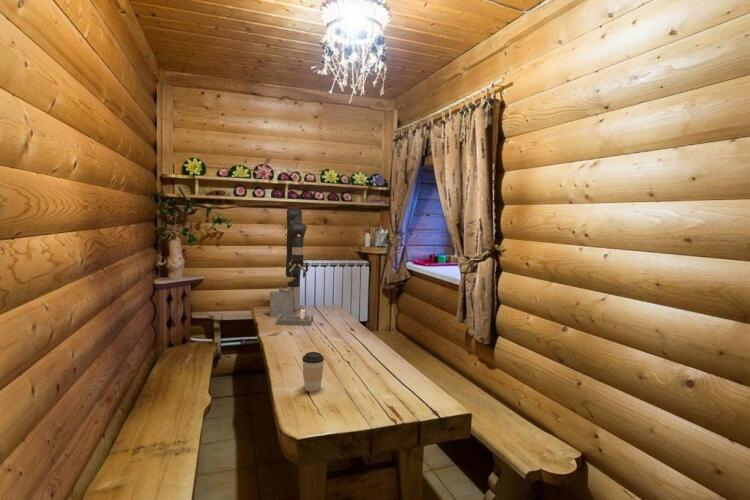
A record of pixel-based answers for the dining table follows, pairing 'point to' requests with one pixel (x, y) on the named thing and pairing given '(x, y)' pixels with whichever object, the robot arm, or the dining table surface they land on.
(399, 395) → the dining table surface
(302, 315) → the fader tab
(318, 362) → the coffee cup
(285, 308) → the grey upright panel
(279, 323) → the console
